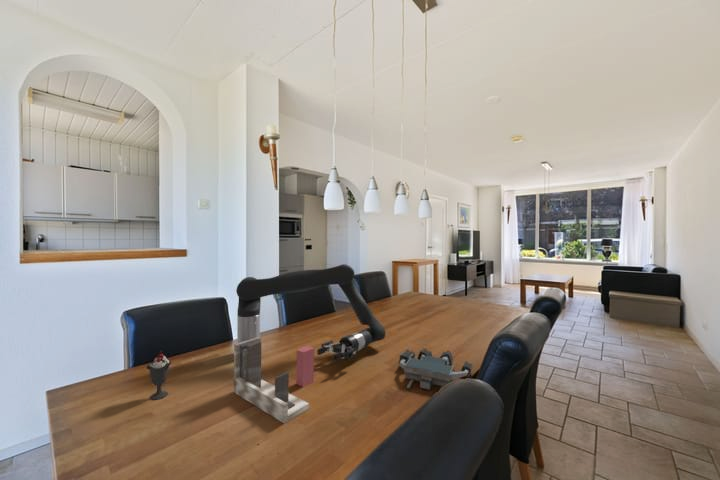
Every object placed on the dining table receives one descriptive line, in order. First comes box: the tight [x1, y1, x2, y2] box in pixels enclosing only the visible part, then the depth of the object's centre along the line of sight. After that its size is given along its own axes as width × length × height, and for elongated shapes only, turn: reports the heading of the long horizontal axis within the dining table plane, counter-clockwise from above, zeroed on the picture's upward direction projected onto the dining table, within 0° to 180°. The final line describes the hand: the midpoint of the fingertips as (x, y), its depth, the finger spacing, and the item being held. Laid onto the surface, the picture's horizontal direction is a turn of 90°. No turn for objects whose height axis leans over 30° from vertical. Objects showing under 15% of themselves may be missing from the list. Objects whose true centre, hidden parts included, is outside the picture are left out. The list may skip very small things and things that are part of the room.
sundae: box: [146, 350, 172, 401], centre depth 95 cm, size 7×7×15 cm
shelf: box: [233, 336, 310, 424], centre depth 94 cm, size 26×9×16 cm, turn 53°
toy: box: [398, 347, 474, 390], centre depth 113 cm, size 27×9×30 cm
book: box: [295, 345, 315, 388], centre depth 105 cm, size 4×5×12 cm
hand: (325, 355), depth 114 cm, fingers open, 8 cm apart
